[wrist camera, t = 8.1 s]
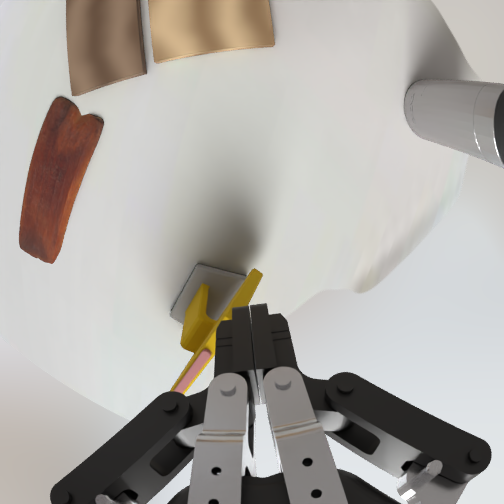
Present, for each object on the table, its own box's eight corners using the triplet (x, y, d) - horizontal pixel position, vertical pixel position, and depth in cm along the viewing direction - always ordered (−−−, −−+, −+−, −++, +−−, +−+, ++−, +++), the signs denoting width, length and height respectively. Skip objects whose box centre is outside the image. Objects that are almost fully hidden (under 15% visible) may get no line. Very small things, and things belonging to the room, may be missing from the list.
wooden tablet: (57, 93, 29) (51, 94, 28) (110, 119, 32) (105, 120, 31) (15, 242, 39) (10, 247, 37) (57, 269, 42) (53, 274, 40)
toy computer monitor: (202, 346, 50) (196, 422, 36) (161, 330, 48) (144, 405, 34) (261, 261, 43) (274, 339, 29) (212, 236, 40) (203, 311, 27)
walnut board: (138, -37, 21) (134, -41, 19) (146, 73, 29) (143, 72, 28) (72, -12, 21) (66, -15, 19) (78, 95, 29) (72, 96, 28)
